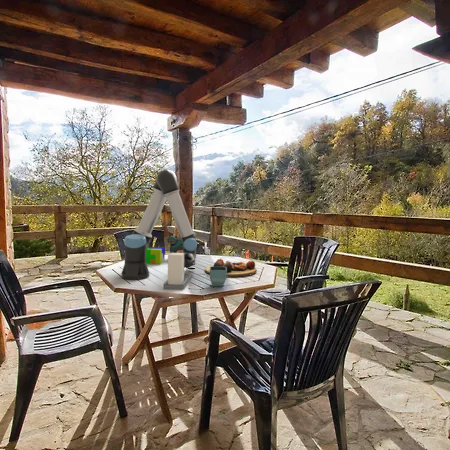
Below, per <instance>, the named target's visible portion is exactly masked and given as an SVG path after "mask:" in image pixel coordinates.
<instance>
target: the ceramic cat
mask: <svg viewBox="0 0 450 450" xmlns="http://www.w3.org/2000/svg"><path fill="white" fill-rule="evenodd" d="M178 233H179V231H177V233H176V235H171V234H169V235H168V238H167V244H169V254H170V253H178V252H179V251H183V242H182V239H181V237H178V235H177V234H178ZM179 234H180V233H179Z"/></svg>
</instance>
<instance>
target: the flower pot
mask: <svg viewBox="0 0 450 450" xmlns="http://www.w3.org/2000/svg"><path fill="white" fill-rule="evenodd" d="M226 274H227V268H226V267H210V274H209V280H210V282H211V285H212V286H213V287H223V286H224V285H225V283H226V279H227V277H226Z"/></svg>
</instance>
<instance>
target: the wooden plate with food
mask: <svg viewBox="0 0 450 450" xmlns="http://www.w3.org/2000/svg"><path fill="white" fill-rule="evenodd" d="M210 267H226V268H227V274H226V278H239V277H240V278H241V277H247V276H252V275H255V273H257V268H256V262H255V260H249V261H247V262H246V263H245V262H244V261H237V262H235V261H234V262H232V261H229V260H226V261H225V262H224V259H222V258H219V259H218V258H217V260H216V261H215V262H214V264H213V265H212V264H211V265H209V266H207V267H205V269H204V272H205V273H206V274H208V275H210Z"/></svg>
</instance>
